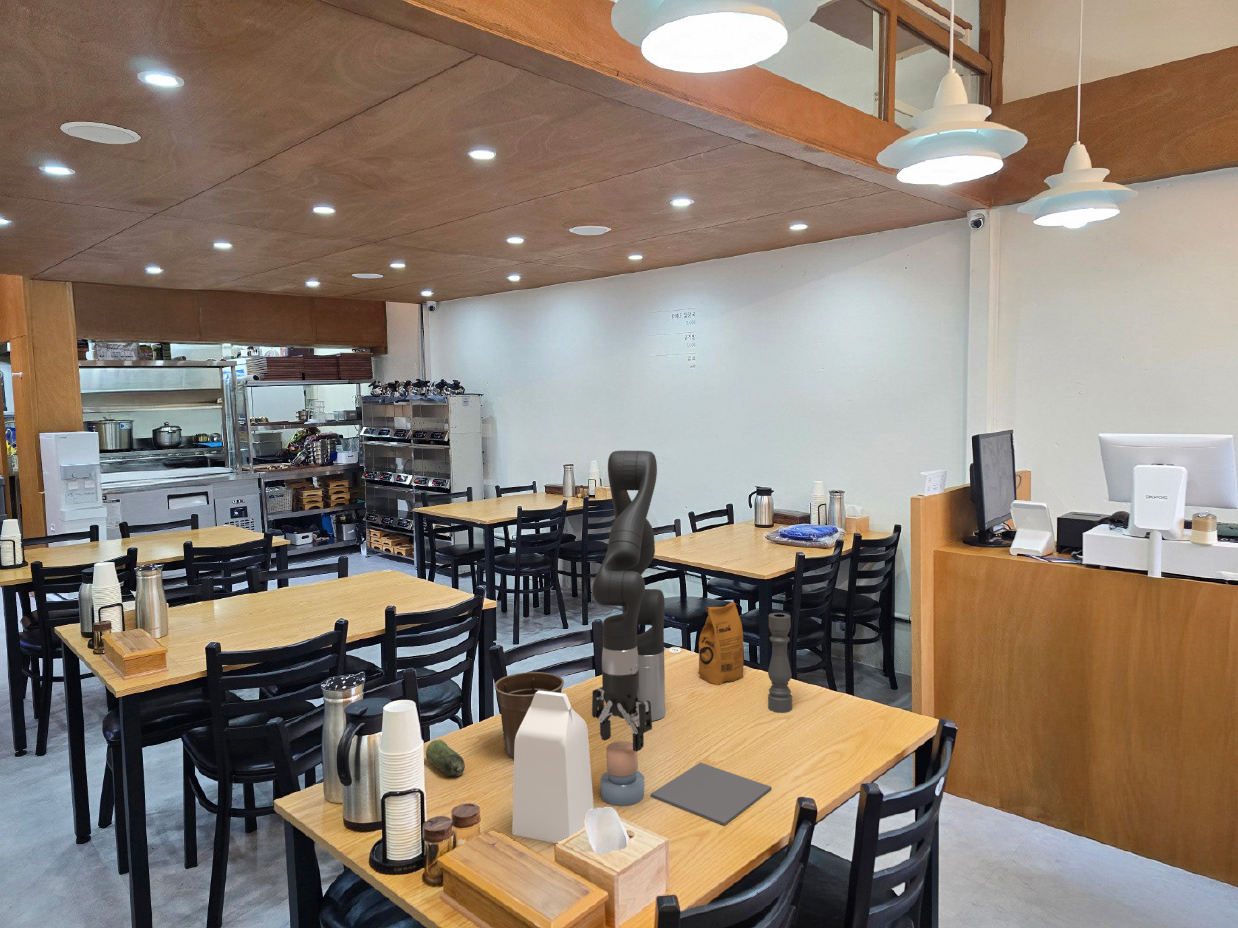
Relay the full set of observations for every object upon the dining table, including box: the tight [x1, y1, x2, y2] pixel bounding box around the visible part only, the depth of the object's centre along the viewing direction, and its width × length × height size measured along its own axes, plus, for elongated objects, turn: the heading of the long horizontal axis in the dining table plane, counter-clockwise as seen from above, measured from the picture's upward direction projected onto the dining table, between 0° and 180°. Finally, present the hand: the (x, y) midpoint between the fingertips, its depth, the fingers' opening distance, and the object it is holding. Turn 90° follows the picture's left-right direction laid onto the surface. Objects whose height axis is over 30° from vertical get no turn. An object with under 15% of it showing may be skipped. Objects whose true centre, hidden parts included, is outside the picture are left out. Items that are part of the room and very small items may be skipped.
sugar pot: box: [600, 770, 645, 807], centre depth 159 cm, size 9×9×6 cm
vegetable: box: [425, 739, 466, 778], centre depth 173 cm, size 14×5×5 cm, turn 37°
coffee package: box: [698, 601, 744, 686], centre depth 227 cm, size 10×12×22 cm
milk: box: [511, 691, 595, 844], centre depth 148 cm, size 12×12×26 cm
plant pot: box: [494, 671, 565, 759], centre depth 181 cm, size 16×16×16 cm
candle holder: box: [767, 612, 793, 714], centre depth 203 cm, size 6×6×25 cm
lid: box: [605, 740, 639, 776], centre depth 159 cm, size 6×6×4 cm
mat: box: [650, 761, 772, 827], centre depth 159 cm, size 18×18×1 cm
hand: (621, 744), depth 158 cm, fingers open, 8 cm apart
